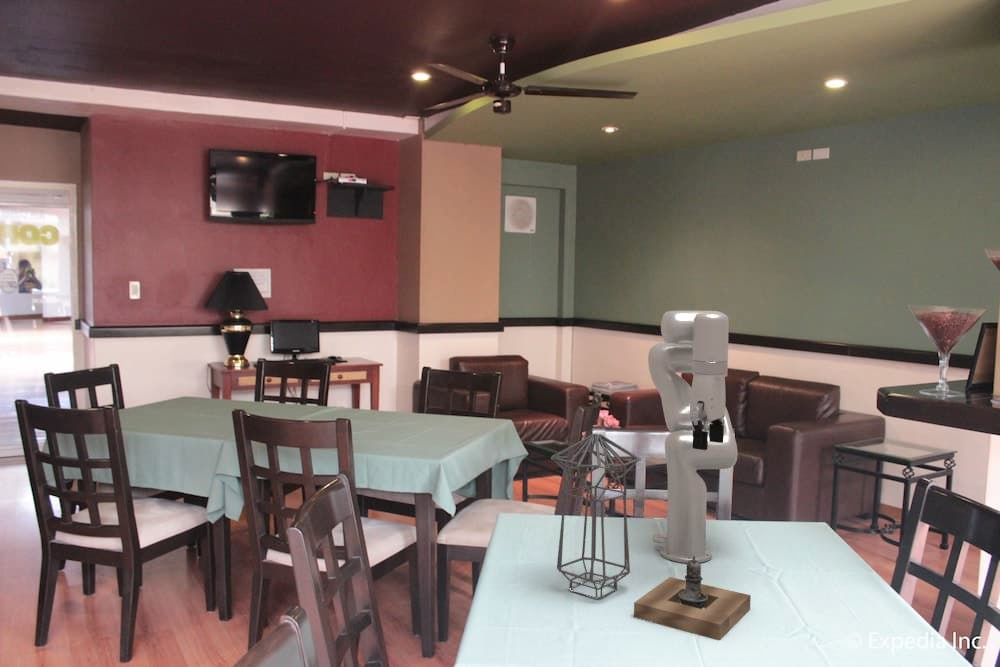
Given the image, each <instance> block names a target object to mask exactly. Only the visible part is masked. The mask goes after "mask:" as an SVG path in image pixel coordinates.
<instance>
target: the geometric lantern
mask: <svg viewBox="0 0 1000 667" xmlns="http://www.w3.org/2000/svg"><path fill="white" fill-rule="evenodd" d="M591 444H592V445H591ZM609 444H610V445H609ZM590 446H591V447H590ZM611 446H613V447H614V448H615V449H618V450H620V451H621V452H623V453H624V454H627V455H628V456H626V455H625V456H624V455H623V456H621V455H619V454H618V453H617V452H616V451H615V449H614V448H612V447H611ZM575 447H577V448H576V449H575V450H574V451H572V452H571V453H570V454H569V455H567V456H566V455H565V456H564V455H563V454H565V453H567V452H568V451H570V450H571V449H573V448H575ZM600 447H601V448H602V451H603V452H600ZM589 448H590V450H589ZM594 449H595V450H594ZM588 452H589V453H590V452H591V454H593V455H594V456H595V457H596V463H597V464H582V463H583V461H584V459H585V458H586V455H587V453H588ZM601 456H602V457H604V459H605V461H604V460H603V458H601ZM578 458H579V460H578ZM550 459H551V461H553V462H554V463H556V464H557V466H558V467H560V468H561V469H562V470H563V472H565V474H566V476H565V484H564V488H563V490H562V509H561V523H560V532H559V541H558V543H559V544H558V551H557V553H558V554H557V560H556V570H558V572H559V573H561V574H562V575H563V577H564V578H566V579H567V580H568V582H569V584H568V585H569V586H568V589H569V588H571V590H573V589H572V587H573V584H574V585H577V584H579V585H578V586H583V587H585V588H586V587H587V588H589V589H594V590H595V596H592V595H589V594H587V593H582V592H581V593H582V594H585V595H588V596H591V597H594V598H602V599H604V598H605V597H607V596H609V595H610V593H611V594H613V593H615V592H616V591H618V590H617V589H618V582H619V581H621V579H623V578H625V577H627V575H629V574H630V573H631V568H630V567H631V566H630V551H629V550H630V549H629V548H630V547H629V534H628V516H627V481H626V476H627V475H626V474H628V472H630V470H632V468H633V467H634V466H635V465H636V464H638V462H639V461H642V458H640V457H639V456H637V455H636V454H633V452H630V451H629V450H627V449H625V448H624V447H622V446H621V445H619V444H618V443H616V442H614V441H613V440H611V439H609V438H608V437H606V436H604V435H603V434H601V433H599V434H598V433H592V434H590V435H588V436H587V437H585V438H582V440H580V441H578V442H576V443H574V444H572V445H570V446H568V447H566V448H564V449H563V450H561V451H558V452H556V453H555V454H553V455H552V456H551V457H550ZM625 459H626V460H627V459H629V461H627V462H626V463H624V462H623V460H625ZM608 460H609V461H608ZM614 461H616V462H619V464H615V463H614ZM609 462H610V463H609ZM565 463H566V464H567V465H566V464H565ZM602 464H603V465H604V466H602ZM630 464H631V465H630ZM571 465H574V466H571ZM629 465H630V466H629ZM628 466H629V467H628ZM627 467H628V468H627ZM580 468H591V469H589V470H587V471H586V472H584V473H582V474H581V471H580V470H581V469H580ZM599 468H600V469H605V470H604V472H603V473H602V476H601V477H600V478H599V480H598V481H597V483H596V484H595V485H588V483H587V482H586V480H585V479H584V477H585V476H587V475H589V474H590V473H592V472H594V471H596V470H598V469H599ZM571 470H576V472H577V473H578V475H577V474H575V475H572V474H571ZM622 470H623V473H622V474H621V475H619V472H621V471H622ZM612 471H615V475H614V473H613V472H612ZM607 473H609V475H610V476H611V477H612V478H610V480H609V482H608V483H607V485H606V487H602V486H599V485H600V484H601V482H602V481H603V479H604V478H605V476H606V474H607ZM570 478H571V479H573V478H575V479H581V482H582V483H583V485H584V486H580V487H576V488H573V489H569V490H568V483H569V480H570ZM621 479H623V488H622V484H621V483H622V482H621V481H620V480H621ZM613 480H614V481H618V485H619V488H620V490H617V489H612V488H608V487H609V486H610V484H611V482H612V481H613ZM583 489H586V492H585V497H583V496H580V495H575V494H571V493H570V492H574V491H578V490H583ZM590 489H594V494H593V493H592V491H591V490H590ZM597 489H599V490H603V491H602V492H601V494H600V495H599V497H598V496H597ZM606 491H610V492H616V493H620V494H621V495H618V496H613V497H609V498H606V499H601V498H602V497H603V495H604V493H605V492H606ZM567 496H569V497H574V498H577V499H581V500H582V499H583V500H585V507H584V508H585V509H584V521H583V523H584V524H583V538H582V550H581V551H582V552H581V557H580V558H577V559H574V560H571V561H569V562H566V563H563V548H564V547H563V545H564V532H565V531H564V530H565V529H564V528H565V514H566V512H565V511H566V505H567V504H566V502H567V501H566V500H567ZM589 496H590V497H591V498H589ZM597 497H598V498H597ZM620 498H622V500H623V502H622V503H623V504H622V505H623V540H624V541H623V543H624V544H623V546H624V547H623V548H624V553H623V555H624V556H623V558H624V563H623V564H624V565H623V564H620V563H619V564H618V563H615V562H612V561H611V562H610V561H607V560H606V555H605V554H606V552H605V524H604V522H605V519H604V517H605V516H604V502H608V501H611V500H616V499H620ZM589 501H590V502H591V503H592V505H591V506H592V507H591V509H592V510H591V543H590V546H591V549H590V553H591V554H590V555H591V556H590V557H585V551H586V539H587V525H588V524H587V521H588V509H589V508H588V507H589ZM597 502H598V503H600V521H601V522H600V526H601V558H602V559H601V558H596V550H597V549H596V548H597V547H596V545H597V544H596V542H597ZM586 560H587V561H590V569H589V571H588V570H587V566H586V563H585V561H586ZM580 561H582V564H583V568H584V572H583V573H580V574H575V573H573V572H570V571H567V570H563V567H568V566H570V565H572V564H575V563H577V562H580ZM595 561H596V562H599V563H602V574H599V573H595V572H594V563H595ZM606 565H611V566H614V567H618V568H622V570H621V571H620V572H619V573H618V574H615V575H611V576H609V575H608V576H607V575H606ZM587 575H589V577H588V578H587ZM568 576H571V577H573V578H570V577H568ZM594 576H596V577H597V576H598V577H601V579H594ZM576 579H580V580H583V581H584V580H586V581H589V582H590V583H592V584H593V586H592V585H588V584H586V583H585V584H584V583H582V584H581V583H580V582H577V581H575V580H576ZM610 580H613V581H611V582H609V583H606V582H608V581H610ZM595 582H599V583H602V584H600V587H597V585H596V583H595ZM604 584H606V585H604ZM609 586H613V587H615V588H613V587H612V588H613V590H611V591H609V592H607V593H606V594H603V589H605V588H607V587H609ZM599 590H600V596H599V597H598V591H599ZM615 590H616V591H615ZM612 592H613V593H612ZM608 594H609V595H608ZM606 595H607V596H606ZM604 596H605V597H604ZM603 597H604V598H603ZM594 598H593V599H594Z"/></svg>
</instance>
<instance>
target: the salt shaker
mask: <svg viewBox="0 0 1000 667" xmlns="http://www.w3.org/2000/svg"><path fill="white" fill-rule="evenodd" d="M692 558H693V559H692V560H689V561H688V562H687V563H686V572H685V573H686V575H684V580H686V588H685V591H682V592H680V593H679V597H680V601H681V604H683V605H687V606H691V607H695V608H699V609H704V608H703V607H704V606H705V604H706V600H707V599H708V597H707V595H706V594H704V593H702V591H701V584H702V580H703V577H702V575H701V574H702V571H701V570H702V565H701V563H700V562H699V561H697V560H695V556H693V557H692Z"/></svg>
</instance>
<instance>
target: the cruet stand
mask: <svg viewBox="0 0 1000 667" xmlns="http://www.w3.org/2000/svg"><path fill="white" fill-rule="evenodd" d="M685 588H686V579H682V578H676V577H672V576H669V577H668V578H666V579H664V580H663V581H662V582H661V583H659V584H658V585H656V586H655V587H653V588H652V589H651V590H650V591H648V592H647V593H646V594H644V595H642V596H641V597H640V598H639V599H637V600H636V601H634V602H633V617H634V618H636V617H637V618H636V619H639V618H641V619H640V620H643V619H645V620H644V621H647V620H648V621H647V622H650V621H652V623H654V622H656V623H655V624H658V625H662V624H663V625H662V626H665V625H666V627H669V626H670V627H669V628H673V629H676V630H681V631H684V632H688V633H692V634H696V635H699V636H703V637H707V638H711V639H715V640H718V641H720V640H722V638H723V637H724V636H725V635H726V634H727V633H729V631H731V629H732V628H733V627H735V626H736V624H737V623H738V622H739V621H740V620H742V618H743V617H744V616H745V615H746V614H747V613H748V612H749V611H750V610H751V597H752V596H751V594H746V593H743V592H738V591H734V590H729V589H726V588H721V587H717V586H712V585H707V584H704V583H703V584H702V583H701V591H702V593H704V594H706V595H707V597H708V599H707V600H706V604H705V606H704V607H703V608H702V609H699V608H695V607H691V606H687V605H683V604H682V603H681V601H680V597H679V593H680V592H682V591H685Z"/></svg>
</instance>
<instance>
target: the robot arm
mask: <svg viewBox="0 0 1000 667" xmlns="http://www.w3.org/2000/svg"><path fill="white" fill-rule="evenodd" d="M729 321H730V320H729V317H728V316H727V314H726V313H723V312H722V311H717V310H668V311H666V312H664V314H663V315H662V318H661V322H660V323H661V324H660V331H661V332H660V333H661V337H662V339H663V342H659V343H656V344H654V345H653V346H652V347H650V349H649V351H648V357H647V362H648V363H647V364H648V371H649V375H650V378H651V380H652V383H653V384H654V386H655V389H657V392H658V394H659V396H660V399H661V405H662V409H663V416H664V420H665V424H666V427H667V430H668V431H669V432H670V433H669V434H668V435H667V436H666V438H665V441H664V453H665V460H666V470H667V472H666V473H667V505H666V506H667V509H666V510H667V512H666V513H667V515H666V518H667V519H666V521H667V522H666V523H667V524H666V533H665V534H664V533H661V532H655V531H654V532H653V533H652V542H653V543H657V544H661V545H662V546H661V547H660V550H659V552H660V555H661V556H662V557H663V558H665V559H667V560H670V561H673V562H676V563H677V562H678V563H682V564H683V563H685V564H687V562H688V561H689V560H692V559H693V558H692V557H693V556H695V560H697V561H699V562H700V564H701V563H705V562H708V561H710V560H711V559H712V557H713V552H712V551H711V549H709V548H707V546H706V543H707V542H706V541H707V540H706V538H707V537H706V536H707V535H706V534H707V533H706V532H707V497H708V496H707V493H708V491H707V486H706V485H707V484H706V482H705V480H704V479H703V478H702V477H701V476H700V475H699V474H698V473H697V470H728V469H731V468H733V467H734V466H735V465H736V463H737V461H738V453H739V452H738V444H737V441H736V437H735V436H736V435H735V434H734V430H733V425H732V423H731V418H730V415H729V411H728V409H727V407H726V399H727V398H726V379H725V378H726V377H728V370H729V369H728V367H729V366H728V365H729V361H728V360H729V329H730V328H729V326H730V322H729ZM679 373H680V374H692V376H693V377H692V382H691V383H692V384H691V385H690V384H689V383H688V382H687V381H686V380H685V379H684V378H683V377H681V376H680V375H678V374H679Z"/></svg>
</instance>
